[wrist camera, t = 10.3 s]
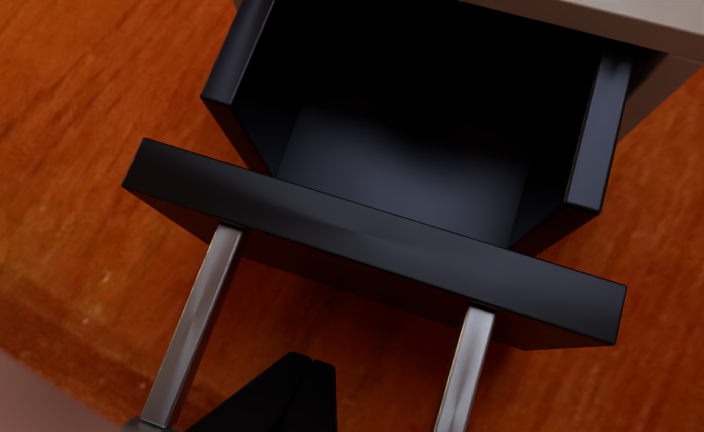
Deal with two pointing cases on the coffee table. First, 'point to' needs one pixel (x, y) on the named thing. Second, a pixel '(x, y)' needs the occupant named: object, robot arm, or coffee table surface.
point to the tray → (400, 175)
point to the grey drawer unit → (629, 40)
